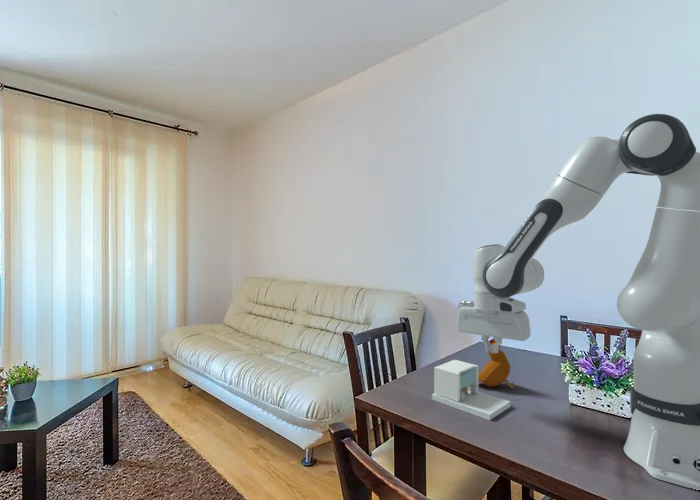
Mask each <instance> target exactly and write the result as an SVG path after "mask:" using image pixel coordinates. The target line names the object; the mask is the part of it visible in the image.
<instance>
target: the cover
mask: <svg viewBox="0 0 700 500" xmlns="http://www.w3.org/2000/svg"><path fill="white" fill-rule="evenodd" d="M433 368H434V369H433V371H434V372H433V374H434V375H433V382H434V383H433V387H434V388H433V392H434V393H435V394H437V395H440V396H443V397H446V398H449V399H452V400H455V401H458V402H459V401H460V389H462V388H464V387H466V386H468V390H471V385H476V386H477V392H479V381H478V373H479V365H477V364H473V363H470V362H465V361H461V360H458V359H452V360H450V361H447V362H445V363H443V364H440V365H437V366H435V367H433ZM434 393H433V394H434Z"/></svg>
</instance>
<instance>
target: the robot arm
mask: <svg viewBox="0 0 700 500" xmlns="http://www.w3.org/2000/svg"><path fill="white" fill-rule="evenodd" d="M622 174H632V175H633V174H634V175H641V176H656V177H657V178H658V179H659V181H660V191H659V197H658V200H657V204H656V208H655V212H654V216H653V220H652V224H651V229H650V233H649V236H648V240H647V243H646V245H645V248H644V250H643V253H642V255H641V256H640V259H639V261H638V263H637V264H636V267H635V268H634V270H633V272H632V275H631V277H630V279H629V281H628V283H627V285H626V286H625V287H624V288H623V289H622V290H621V291H620V292H619V294H618V296H617V299H616V307H617V308H616V309H617V311H618V313H619V315H620V317H621V318H622V320H623V321H624V322H625V323H626V324H628V325H629V326H631V327H632V328H635V329H636V330H640V331H641V335H640V338H639V341H638V344H637V346H636V347H635V350H634V352H633V386H632V387H630V395H629V406H630V413H631V419H630V420H631V421H630V427H629V430H628V435H627V438H626V441H625V444H624V445H623V451H624V453H625V455H626V456H627V458H629V459H630V460H632V461H633V462H634V463H636V464H637V465H639V466H641V468H643V469H645V471H646V472H647V474H649V475H650V476H652V477H653V478H654V479H657V480H660V481H664V482H667V483H671V484H674V485H678V486H681V487H685V488H688V489H691V488H692V489H691V490H695V489H696V490H695V491H698V490H700V152H698V151H697V148H696V145H695V143H694V142H693V140H692V137H691V135H690V133H689V131H688V129H687V126H686V125H685V124H684V123H683V122H682V121H681V120H680V119H678V118H677V117H675V116H673V115H670V114H665V113H653V114H647V115H644V116H642V117H639V118H637V119H636V120H634V121H633V122H631V123H630V124H629V125H628V126H627V127H626V128H625V129H624V130H623V132H622V134H621V135H620V138H619V139H612V138H610V137H608V136H607V137H606V136H591V137H587V138H586V139H584V140H582V142H580V144H579V145H578V146H577V147H576V148H575V150H573V152H572V153H571V154H570V155H569V157H568V158H567V159H566V160H565V162H564V163H563V164H562V166H561V167H560V169H559V170H558V172H557V174H556V175H555V176H554V179H552V182H551V183H550V185H549V186H548V187H547V189H546V191H545V193H543V196H541V198H540V199H539V201H538V202H537V203H536V205H535V206H534V208H533V209H532V210H531V211H530V213H529V214H528V215H527V216H526V218H525V219H524V221H523V222H522V223H521V224H520V226H519V228H518V229H517V230H516V231H515V233H514V235H513V236H512V237H511V238H510V240H509V241H508V243H507V244H506V245H505V246H503V245H502V244H498V243H497V244H489V245H488V244H487V245H484V246H483V245H482V246H480V247H478V248H477V249H475V250H474V253H473V259H472V278H473V281H474V288H473V301H466V300H461V302H459V303H458V304H457V306H456V309H457V318H456V330H457V331H458V332H459V333H465V334H468V335H469V334H470V335H475V336H477V335H478V336H481V341H482V342H483V344H484V346H485V352H486V353H488V352H491V353H498V346H499V345H500V343H501V342H502V343H503V339H504V340H505V339H506V340H512V341H519V342H525V341H527V340H529V339H530V338H531V333H532V332H531V324H530V318H529V315H528V314H527V312H526V311H525V310H526V308H527V306H526V303H525V302H524V301H521V300H518V299H516V298H514V297H513V296H515V295H516V296H517V295H520V294H524V293H528V292H532V291H534V290H536V289H538V288H539V287H540V286H541V285H542V284H543V282H544V279H545V271H544V267H543V266H542V264H541V263H540V261H538V260H537V259H535V258H534V256H535V255H536V254H537V253H538V250H539V249H541V247H542V245H543V244H544V243H545V242H546V240H547V239H548V238H549V237H550V236H552V234H554V233H555V232H556V231H558V230H560V229H562V228H564V227H566V226H569V225H571V224H573V223H577V222H579V221H581V220H584V219H585V218H586V216H588V215H589V214H590V213H591V212H592V211H594V209H595V208H596V207H597V205H598V204H599V203H600V202H601V200H602V198H603V197H604V196H605V194H606V193H607V192H608V190H609V188H610V187H611V185H612V184H613V183H614V182H615V181H616V179H617V178H619V177H620V176H622ZM539 251H540V250H539ZM512 297H513V298H512ZM490 337H492V338H494V341H496V342H495V344H494V345H491V344H490V342H489V341H490V340H489V339H490ZM502 343H501V344H502ZM500 346H501V345H500Z"/></svg>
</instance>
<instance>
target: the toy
mask: <svg viewBox="0 0 700 500" xmlns="http://www.w3.org/2000/svg"><path fill="white" fill-rule="evenodd" d="M489 342H490V344H491V345H494V344H495V342H496V341H494V337H492V338H491V339H490V340H489ZM502 343H503V341H502V342H501V343H500V345H499V346H498V353H491V352H487V353H488V356H489V357H490V359H491V360H489V361H488V362H486V364H484V366H483V368H482V369H481V371H480V372H478V382H480V383H482V384H483V385H484V386H487V387H489V388H492V387H496V386H499V385H501V384H503V383H505V384H506V385H507V386H508V387H510V388H511V389H514V388H515V387H516V384H514V382H510V381H509V380H507V378H508V376H510V373H511V367H512V366H511V365H510V362H509V360H508V359H507V355H506V354H505V352H504V351H502V350H501V349H500V346H501V345H502Z"/></svg>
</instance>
